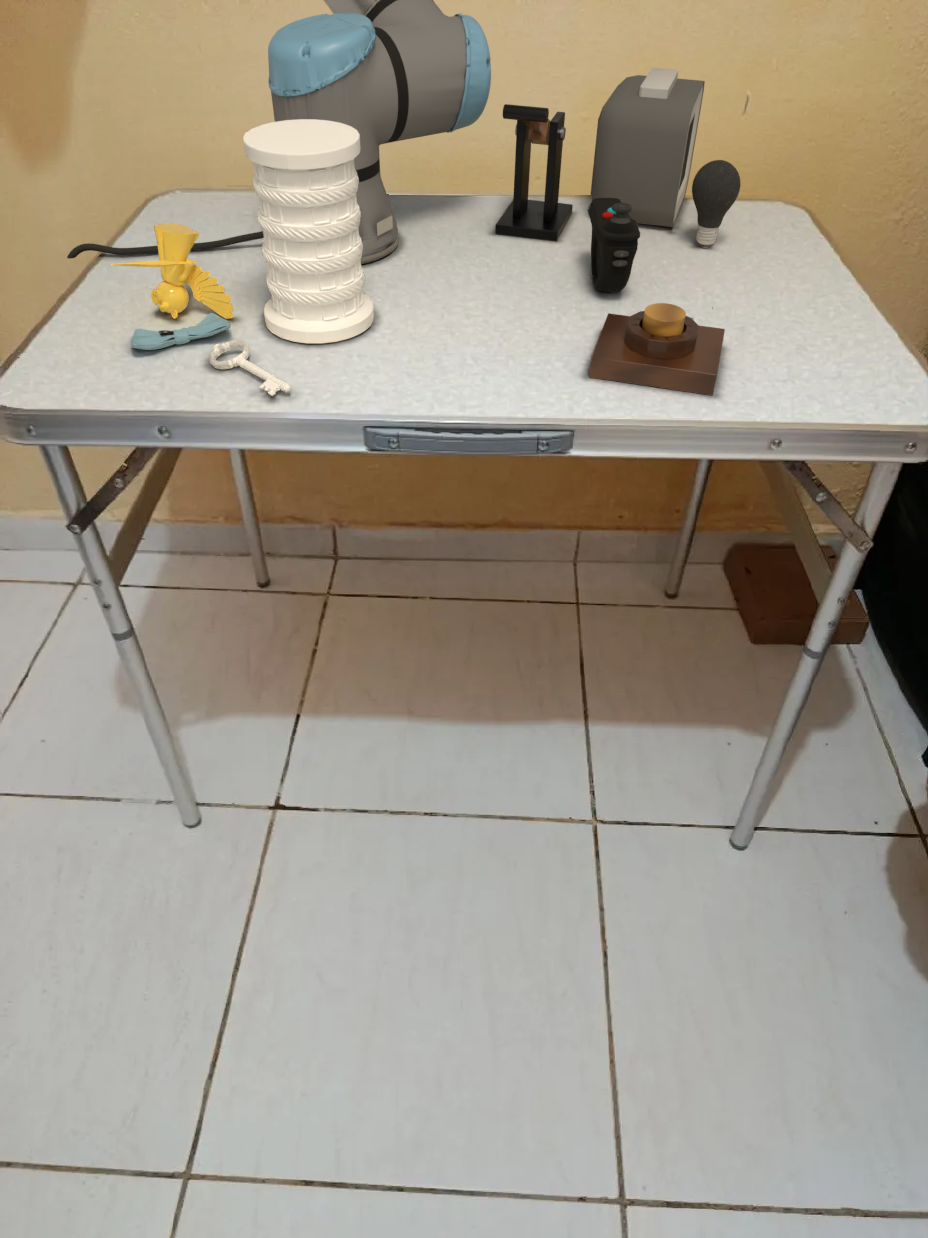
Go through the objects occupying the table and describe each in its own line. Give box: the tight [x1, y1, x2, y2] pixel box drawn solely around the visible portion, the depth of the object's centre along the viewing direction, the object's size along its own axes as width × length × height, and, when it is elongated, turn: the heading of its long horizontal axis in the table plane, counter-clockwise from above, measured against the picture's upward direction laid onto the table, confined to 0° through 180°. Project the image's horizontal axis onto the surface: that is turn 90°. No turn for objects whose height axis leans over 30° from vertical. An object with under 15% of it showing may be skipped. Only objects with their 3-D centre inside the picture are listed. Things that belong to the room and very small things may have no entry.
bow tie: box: [130, 312, 232, 351], centre depth 94 cm, size 10×2×5 cm
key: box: [208, 339, 292, 397], centre depth 89 cm, size 12×1×4 cm
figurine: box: [110, 222, 235, 320], centre depth 95 cm, size 12×12×9 cm
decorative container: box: [242, 119, 375, 344], centre depth 92 cm, size 12×12×18 cm
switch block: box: [588, 310, 726, 396], centre depth 91 cm, size 12×10×4 cm
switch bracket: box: [494, 111, 573, 242], centre depth 115 cm, size 10×8×13 cm
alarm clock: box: [590, 67, 706, 228], centre depth 119 cm, size 16×11×16 cm
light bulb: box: [691, 159, 741, 249], centre depth 111 cm, size 6×6×10 cm
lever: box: [502, 103, 551, 146], centre depth 108 cm, size 12×5×2 cm, turn 164°
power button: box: [642, 302, 687, 336], centre depth 89 cm, size 4×4×2 cm
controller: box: [587, 198, 641, 293], centre depth 103 cm, size 4×12×10 cm, turn 3°
